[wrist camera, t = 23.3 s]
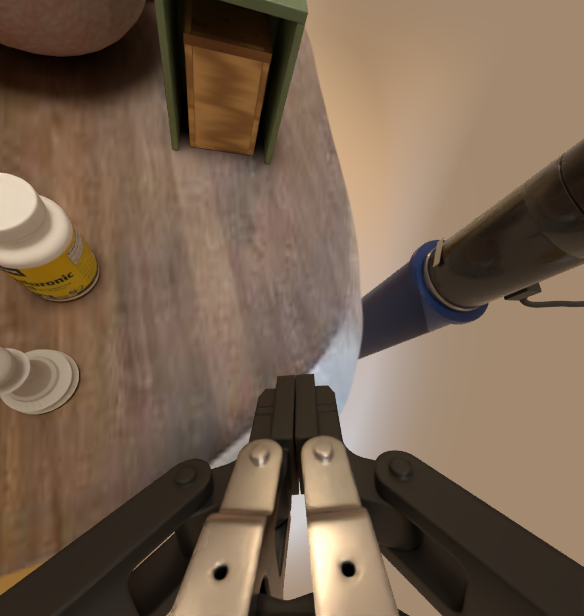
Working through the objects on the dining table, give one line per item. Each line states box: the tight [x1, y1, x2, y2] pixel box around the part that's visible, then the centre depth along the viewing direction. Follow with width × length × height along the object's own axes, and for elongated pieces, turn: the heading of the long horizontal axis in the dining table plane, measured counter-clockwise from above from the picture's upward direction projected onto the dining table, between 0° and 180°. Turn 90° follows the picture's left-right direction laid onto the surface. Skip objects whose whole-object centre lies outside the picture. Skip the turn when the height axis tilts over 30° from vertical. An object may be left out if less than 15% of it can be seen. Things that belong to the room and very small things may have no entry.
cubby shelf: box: [154, 0, 308, 164], centre depth 29 cm, size 11×9×15 cm
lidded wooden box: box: [183, 0, 272, 156], centre depth 31 cm, size 7×7×11 cm
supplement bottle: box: [0, 173, 99, 301], centre depth 22 cm, size 5×5×10 cm
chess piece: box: [0, 347, 79, 414], centre depth 20 cm, size 5×5×8 cm
